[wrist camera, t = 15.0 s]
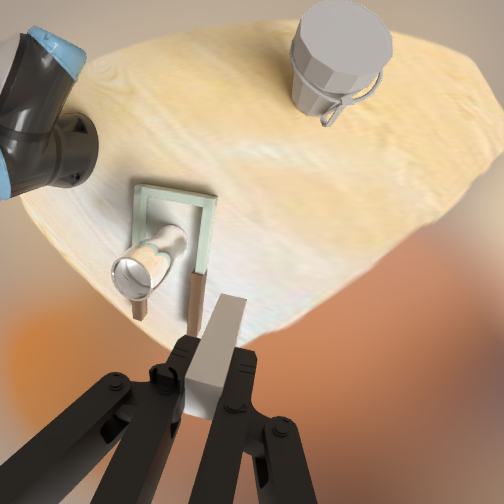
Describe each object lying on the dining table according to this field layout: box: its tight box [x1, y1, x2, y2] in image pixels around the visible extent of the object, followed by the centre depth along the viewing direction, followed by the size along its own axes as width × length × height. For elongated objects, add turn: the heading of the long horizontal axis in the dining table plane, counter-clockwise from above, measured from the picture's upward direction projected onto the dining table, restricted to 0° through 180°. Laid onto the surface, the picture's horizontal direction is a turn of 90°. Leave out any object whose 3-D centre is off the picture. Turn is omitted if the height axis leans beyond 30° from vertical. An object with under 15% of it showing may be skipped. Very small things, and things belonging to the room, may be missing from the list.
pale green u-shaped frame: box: [132, 184, 218, 275], centre depth 45 cm, size 14×13×2 cm
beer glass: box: [111, 225, 188, 301], centre depth 40 cm, size 7×7×15 cm
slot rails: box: [132, 268, 207, 338], centre depth 50 cm, size 14×14×3 cm
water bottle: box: [290, 0, 392, 127], centre depth 24 cm, size 9×8×25 cm
